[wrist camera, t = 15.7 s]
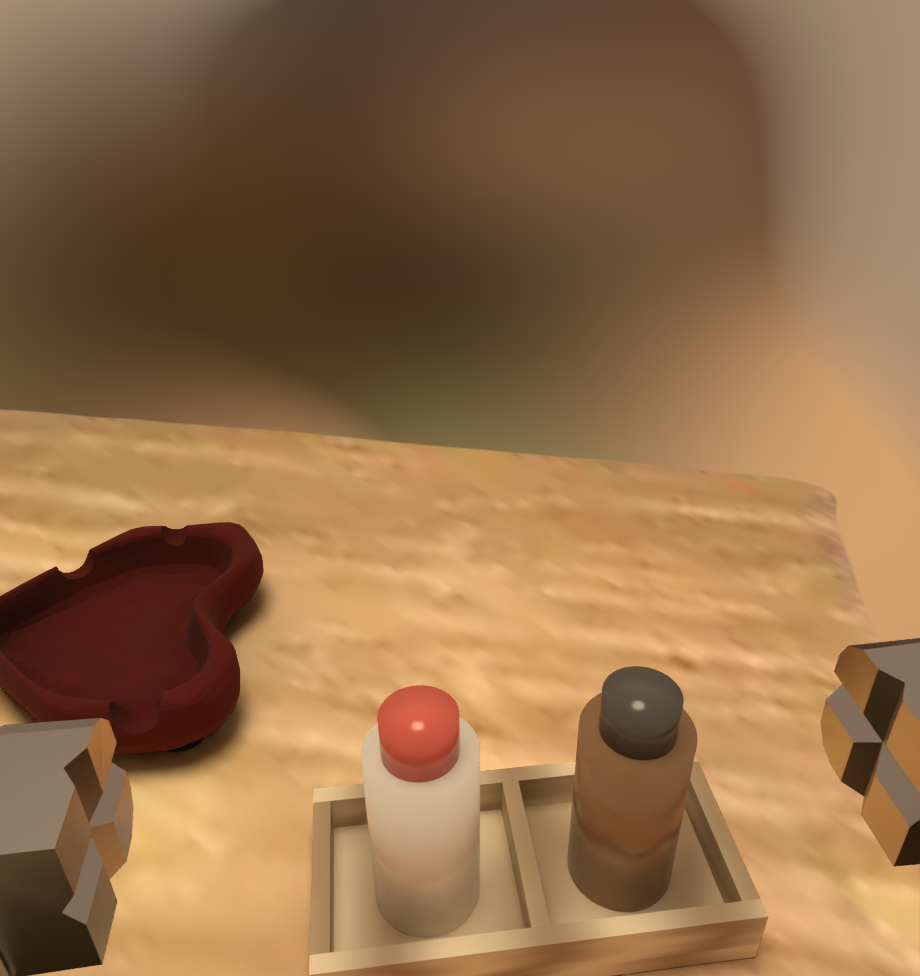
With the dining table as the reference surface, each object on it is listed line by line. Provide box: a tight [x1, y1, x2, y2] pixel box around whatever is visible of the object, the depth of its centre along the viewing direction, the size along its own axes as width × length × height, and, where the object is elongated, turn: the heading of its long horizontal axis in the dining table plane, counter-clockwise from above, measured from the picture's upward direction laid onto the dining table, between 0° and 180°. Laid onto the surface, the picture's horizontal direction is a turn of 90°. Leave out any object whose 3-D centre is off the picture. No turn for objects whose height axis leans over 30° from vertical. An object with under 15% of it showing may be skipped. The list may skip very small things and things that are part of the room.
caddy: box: [309, 755, 768, 976], centre depth 39 cm, size 19×9×3 cm, turn 97°
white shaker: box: [361, 686, 480, 937], centre depth 36 cm, size 5×5×11 cm
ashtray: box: [0, 522, 263, 754], centre depth 52 cm, size 18×16×5 cm
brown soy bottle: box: [567, 666, 697, 912], centre depth 37 cm, size 5×5×11 cm
